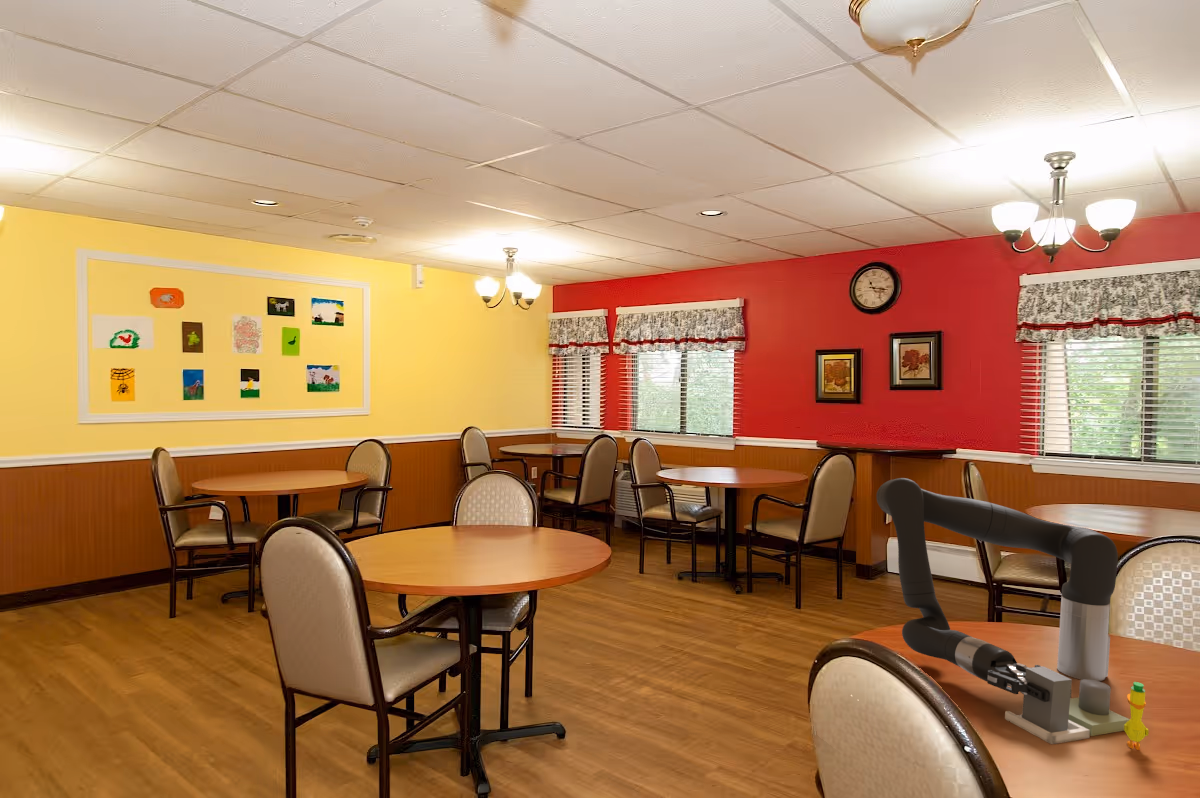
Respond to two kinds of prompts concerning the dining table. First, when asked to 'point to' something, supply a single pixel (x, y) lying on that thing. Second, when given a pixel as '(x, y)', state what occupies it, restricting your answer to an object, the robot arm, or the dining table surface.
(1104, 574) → the robot arm
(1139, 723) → the toy figure
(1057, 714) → the gray rectangular block
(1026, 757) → the dining table surface
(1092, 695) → the cylinder and block set
